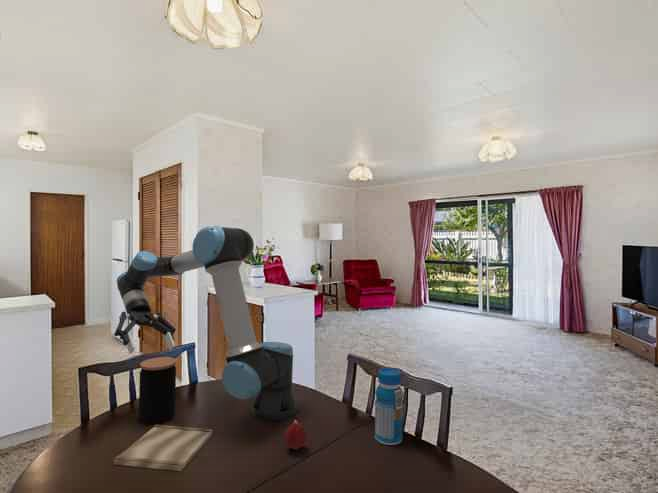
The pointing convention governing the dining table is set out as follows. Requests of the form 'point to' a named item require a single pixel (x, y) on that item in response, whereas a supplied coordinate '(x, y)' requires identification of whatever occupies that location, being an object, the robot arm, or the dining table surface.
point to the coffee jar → (157, 390)
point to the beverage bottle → (389, 407)
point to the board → (165, 448)
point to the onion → (295, 435)
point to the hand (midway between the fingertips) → (153, 349)
